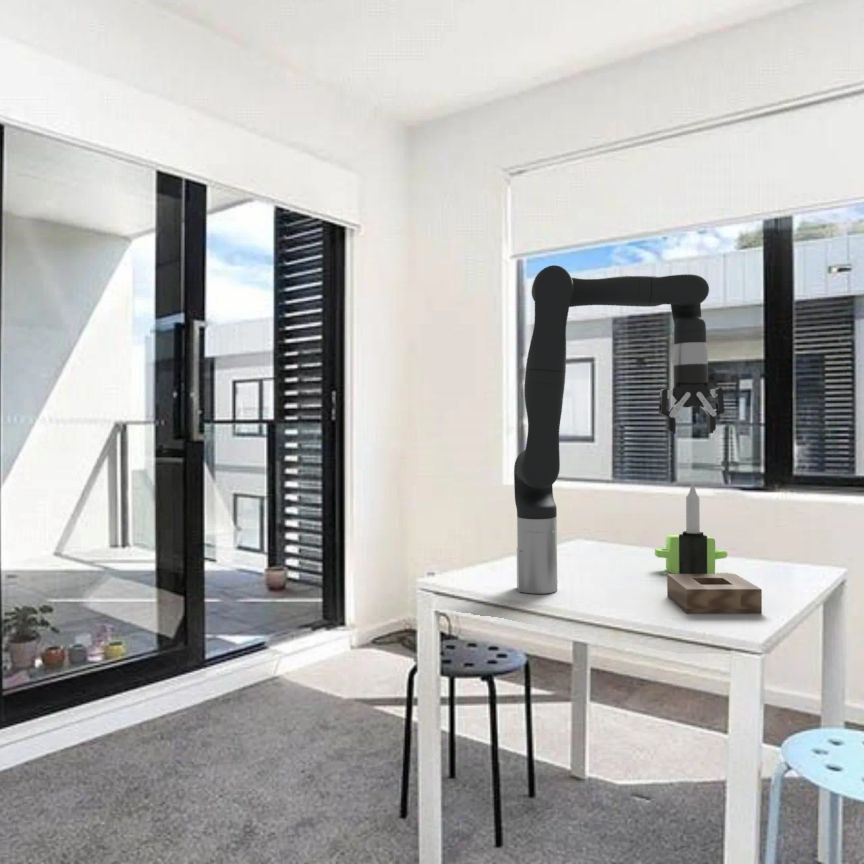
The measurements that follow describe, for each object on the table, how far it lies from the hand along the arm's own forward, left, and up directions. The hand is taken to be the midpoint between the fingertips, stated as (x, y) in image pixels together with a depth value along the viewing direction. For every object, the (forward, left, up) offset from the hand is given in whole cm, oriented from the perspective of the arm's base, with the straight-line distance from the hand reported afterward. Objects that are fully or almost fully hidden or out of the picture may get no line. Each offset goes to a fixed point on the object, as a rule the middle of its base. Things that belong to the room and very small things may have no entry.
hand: (691, 433), depth 172 cm
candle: (0, 0, -37) cm, 37 cm away
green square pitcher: (+6, +21, -37) cm, 43 cm away
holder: (0, -14, -36) cm, 39 cm away
